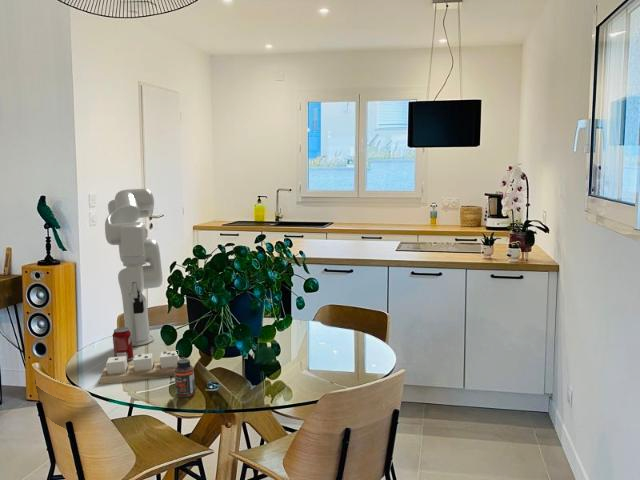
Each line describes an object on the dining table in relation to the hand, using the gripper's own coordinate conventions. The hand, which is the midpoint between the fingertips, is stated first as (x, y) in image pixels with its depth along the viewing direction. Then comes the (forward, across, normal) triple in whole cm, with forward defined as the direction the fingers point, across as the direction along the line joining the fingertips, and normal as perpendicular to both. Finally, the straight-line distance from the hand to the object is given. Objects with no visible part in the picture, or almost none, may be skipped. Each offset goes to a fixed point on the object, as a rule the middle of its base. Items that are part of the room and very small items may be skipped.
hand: (138, 312), depth 214 cm
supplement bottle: (+22, +26, +15) cm, 37 cm away
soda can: (+22, -18, -9) cm, 30 cm away
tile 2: (+20, 0, 0) cm, 20 cm away
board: (+22, 0, 0) cm, 22 cm away
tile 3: (+20, 0, +9) cm, 22 cm away
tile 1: (+20, 0, -9) cm, 22 cm away
